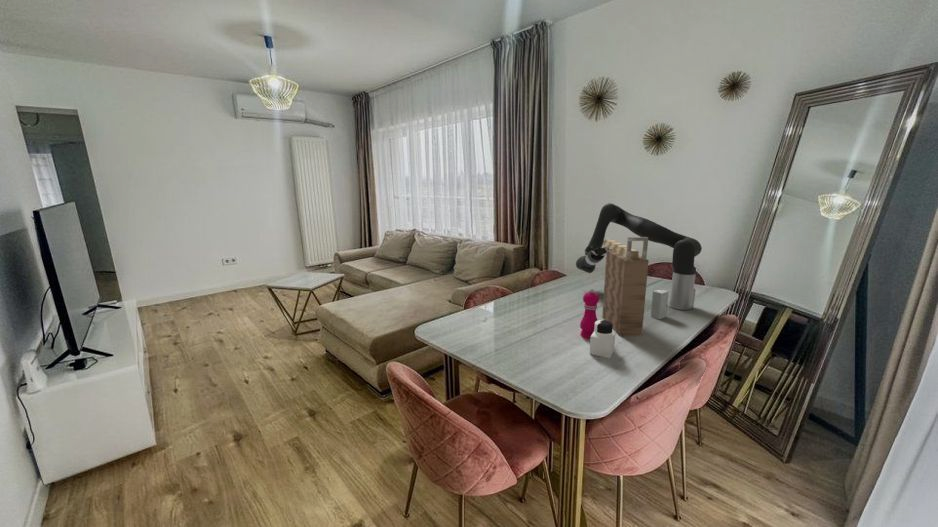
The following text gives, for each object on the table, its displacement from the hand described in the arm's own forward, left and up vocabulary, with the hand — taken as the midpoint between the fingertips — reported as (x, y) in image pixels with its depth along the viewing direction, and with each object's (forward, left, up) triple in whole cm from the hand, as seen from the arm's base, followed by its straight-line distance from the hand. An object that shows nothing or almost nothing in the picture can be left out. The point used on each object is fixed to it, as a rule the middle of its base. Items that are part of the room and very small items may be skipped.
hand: (605, 245), depth 171 cm
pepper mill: (+22, +31, -30) cm, 49 cm away
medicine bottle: (+24, +45, -30) cm, 60 cm away
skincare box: (-18, +18, -30) cm, 40 cm away
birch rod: (+3, +17, +1) cm, 17 cm away
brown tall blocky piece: (+4, +24, -30) cm, 39 cm away
